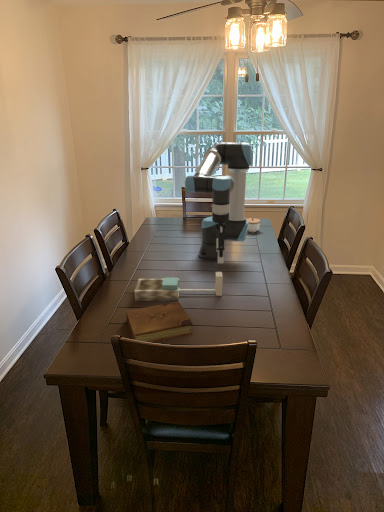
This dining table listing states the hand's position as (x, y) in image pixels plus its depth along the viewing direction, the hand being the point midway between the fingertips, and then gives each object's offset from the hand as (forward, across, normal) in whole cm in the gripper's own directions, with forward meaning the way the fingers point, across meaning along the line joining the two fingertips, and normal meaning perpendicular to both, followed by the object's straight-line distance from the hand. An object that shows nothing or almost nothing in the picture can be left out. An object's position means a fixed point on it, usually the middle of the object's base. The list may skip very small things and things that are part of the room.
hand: (219, 256), depth 172 cm
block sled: (+18, +1, -13) cm, 22 cm away
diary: (+19, +30, -26) cm, 44 cm away
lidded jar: (+20, -92, +28) cm, 98 cm away
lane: (+19, +2, -29) cm, 35 cm away
